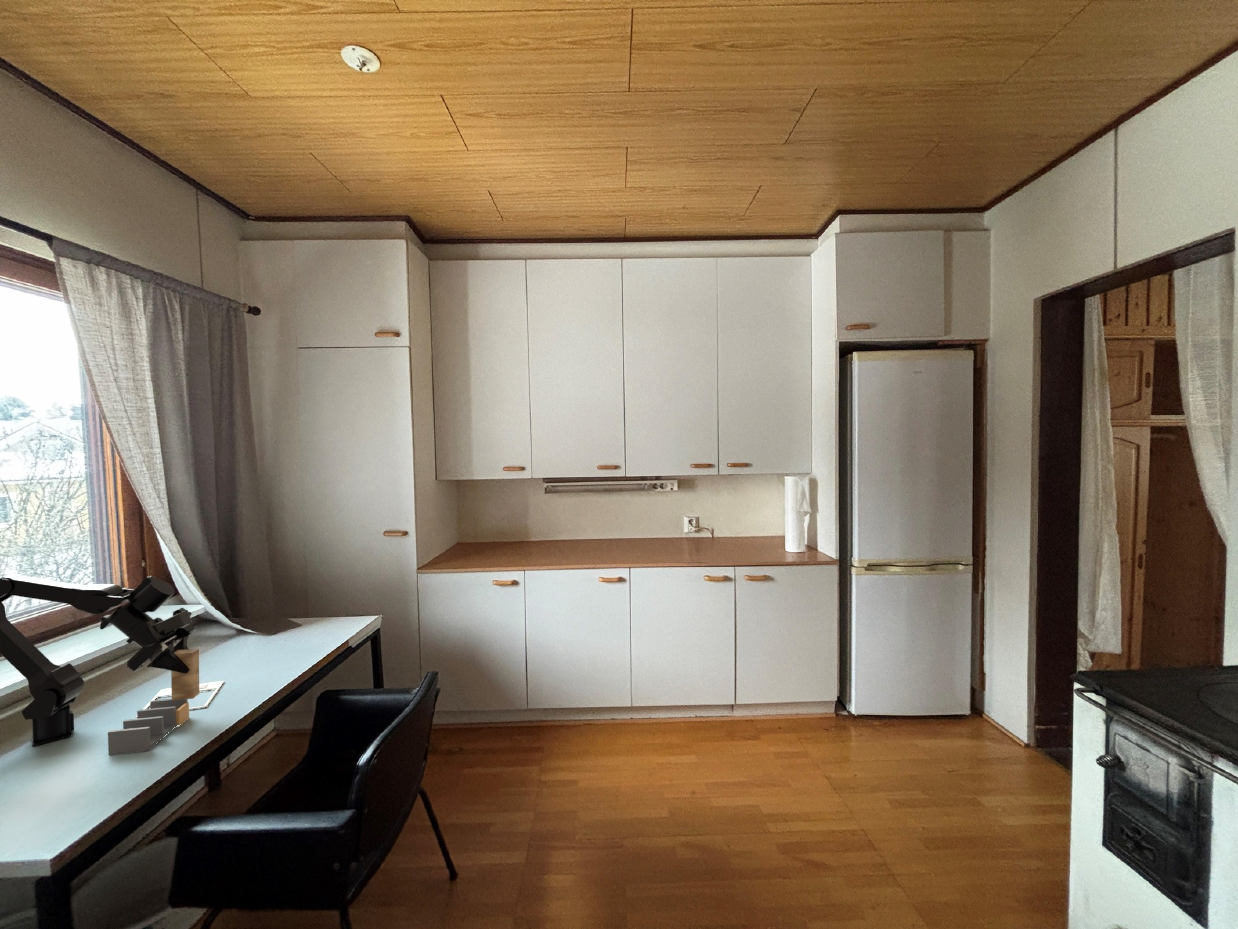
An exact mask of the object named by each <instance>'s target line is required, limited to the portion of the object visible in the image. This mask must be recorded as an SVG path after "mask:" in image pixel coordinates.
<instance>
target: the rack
mask: <svg viewBox="0 0 1238 929" xmlns="http://www.w3.org/2000/svg"><path fill="white" fill-rule="evenodd" d="M151 700H152V699H151ZM151 700H150V701H151ZM150 701H149V702H150ZM189 708H190V703H189V699H182V700H172V698H163V699H156V700H152V701H151V702H150V707H149V708H148V709H144V708H141V709H138V710H137V711H136V712H137V715H136V716H137V719H135V718H130V719H129V718H128V719H124V720H122V724H123V726H122V729H113V730H109V731H107V747H108V756H113V755H124V754H133V753H141V752H143V753H144V752H148V751H147V750H149V751H151V750H152V749H153V748H154V747H155V746H157V744H156V743H157V742H159V741H160V739H162V738H163V737H164V736H165V735H166V734H168V732H170V731H171V730H172V729H173V728H174V727H176V726H177V725H180V724H182V723H183V722H184V721H186V720H187V719H188V718H189V719H190V711H189ZM189 719H188V720H189ZM188 720H187V721H188ZM187 721H186V722H187ZM182 725H183V724H182ZM176 728H177V727H176ZM170 733H171V732H170ZM168 735H169V734H168ZM163 739H164V738H163ZM163 739H162V740H163ZM160 742H161V741H160ZM160 742H159V743H160ZM154 745H155V746H154ZM153 746H154V747H153ZM152 747H153V748H152ZM151 748H152V749H151ZM150 749H151V750H150Z"/></svg>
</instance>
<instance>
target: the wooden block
mask: <svg viewBox="0 0 1238 929" xmlns="http://www.w3.org/2000/svg"><path fill="white" fill-rule="evenodd" d="M174 653H175V654H176V655H177V656H178V657H179V658H180V659H181V660H182V661H183V662H184V664H185V665H186V666H187V667H188V668H189V669H190V671H189V672H187V673H186V674H185V673H180V672H176V671H171V670H170V671H171V674H170V675H171V680H170V681H171V686H170V688H171V689H172V696H171V699H172V700H182V699H188V700H193V699H194V698H196V697H197V696H199V694H200V692H199V684H200V648H191V649H189V648H188V649H187V650H177V651H175V652H174Z"/></svg>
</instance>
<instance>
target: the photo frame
mask: <svg viewBox="0 0 1238 929" xmlns="http://www.w3.org/2000/svg"><path fill="white" fill-rule="evenodd" d="M223 683H224V684H225V680H220V681H219V680H218V681H212V682H205V683H199V693H201V692H200V691H206V692H209V691H208V690H212V689H216V690H213V692H212V694H211V695H210V697H209V698H208V699H207V701H206V703H204V705H200V706H192V707H189V710H191V711H194V710H193V709H198V708H203V707H207V706H208V707H209V705H210V704H211V702H212V701H213V700H214V698H215V697H214V696H216V695H217V694H218V693H219V691H220V690H219V689H221V688H222V687H223V685H224V684H223ZM222 684H223V685H222ZM221 686H222V687H221ZM220 687H221V688H220ZM218 690H219V691H218ZM216 693H217V694H216ZM215 694H216V695H215ZM169 695H172V689H171V687H170V688H163V689H160V690H159V692H158V693H156V694H155V696H154V697H153V698H152V699H151V700H150V701H149V702H148V703H147V704H146V705H145V706H144V707H143V709H147V708H148V707H149V706H150V702H151V701H152V700H155V699H156V698H157V697H161V696H169ZM213 697H214V698H213ZM157 699H158V698H157ZM157 699H156V700H157ZM212 699H213V700H212ZM211 700H212V701H211ZM209 703H210V704H209ZM208 704H209V705H208ZM208 707H207V708H208ZM149 708H150V707H149ZM149 708H148V709H149ZM198 710H199V709H198ZM135 718H137V715H136V716H135ZM135 718H134V719H135Z"/></svg>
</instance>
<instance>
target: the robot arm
mask: <svg viewBox="0 0 1238 929" xmlns="http://www.w3.org/2000/svg"><path fill="white" fill-rule="evenodd" d="M175 593H176V589H175V588H174V587H173V585H172V584H171V583H169V582H168V581H165V580H162V579H159V578H155V577H154V575H150V576H149V575H148V576H147V577H145V578H144V579H143V580H142V581H141V582H140V584H139V585H137V587H136V588H134V589H133V588H123V587H122V586H121V585H118V584H116V583H115V584H113V583H94V584H77V583H69V582H64V581H57V580H50V579H45V578H38V577H32V576H26V575H24V574H19V573H17V574H10V575H8V576H3V577H0V656H2V657H3V658H4V659H5V660H6V661H7V662H8V663H9V664H10V665H12V666H13V667H14V669H16V670H17V671H18V672H19V673H20V674H21V675H22V676H23V677H24V678H25V679H26V680H27V684H28V691H29V692H28V693H29V694H30V695H31V697H32V699H33V700H32V701H30V703H29V704H27V706H25V708H24V709H22V710H21V714H22V716H23V718H24V720H25V721H27V720H28V721H29V720H31V732H32V735H31V746H32V747H36V746H40V745H43V744H47V743H51V742H55V741H58V740H59V741H60V740H61V739H62V740H63V739H66V738H70V737H72V736H73V731H74V732H75V714H74V710H72V709H71V706H70V705H71V704H74V703H75V702H76V701H77V698H78V696H79V695H80V694H81V693H82V691H83V689H84V685H85V681H84V679H83V677H82V676H83V673H81V672H79V671H78V670H76V668H75V667H74V665H73V664H71V663H69V662H68V663H66V664H65V665H62V666H61V665H58V664H55V663H53V662H52V661H51V660H50V659H49V658H48V657H47V656H46V655H45V654H44V653H42V651H40V649H39V648H37V647H36V646H35V645H34V644H33V643H32V642H31V640H29V639H28V638H27V637H26V636H25V635H24V634H23V633H22V632H21V631H20V630H19V629H18V628H17V627H16V626H15V625H14V624H12V622H11V621H10V620H9V619H8V618H7V615H6V607H5V604H4V603H3V602H5V601H6V600H9V598H12V597H13V596H15V597H22V598H27V599H28V598H29V599H34V600H41V601H47V602H48V601H49V602H54V603H61V604H66V605H70V606H71V607H73V608H74V609H75V610H78V611H81V612H84V613H87V614H91V615H100V614H104V613H106V612H109V611H111V610H113V609H115V608H116V609H115V610H114V611H112V613H111V614H106V615H104V616H101V617H100V626H99V629H100V630H104V629H106V628H109V627H111V626H114V628H116V629H118V631H120V632H121V633H122V634H123V635H125V636H126V637H127V638H128V639H127V640H126V643H127V644H129V645H131V644H133V643H135V644H136V645H137V646H138V647H140V649H139V650H138V651H137V652H135V654H134V655H132V656H131V657H130V658H129V659H128V660H127V661H126V668H127V669H128V670H130V671H131V672H132V673H136V672H137V671H139V670H141V669H142V668H144V664H145V663H146V662H147V661H149V664H148V665H146V668H147V669H148V668H154V669H155V668H156V669H161V670H166V671H176V672H180V673H185V674H186V673H187V672H189V671H190V669H189V668H188V667H187V666H186V665H185V664H184V662H183V661H182V660H181V659H180V658H179V657H178V656H177V655H176V654H175V653H174V652H175V651H177V650H187V649H189V647H188V639H190V636H191V634H193V633H194V632H195V631H196V630H197V629H196V627H195V626H194V625H192V624H191V623H192V622H193V620H192V619H191V615H192V612H191V611H189V610H188V609H185V608H184V607H180V608H178V609H176V610H174V611H172V616H170V617H169V618H166V619H162V618H161V617H155V618H152V616H150V615H149V614H148V612H149V613H154V612H156V611H157V610H158V609H160V607H161V606H162V605H164V604H165V603H166V602H167V601H168V600H169V599H170V598H171V597H172V596H173V595H174V594H175ZM126 602H127V604H126V605H124V606H121V605H123V604H124V603H126Z"/></svg>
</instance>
